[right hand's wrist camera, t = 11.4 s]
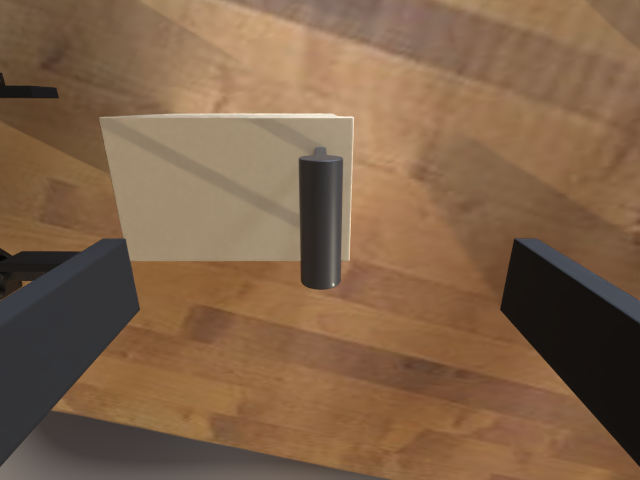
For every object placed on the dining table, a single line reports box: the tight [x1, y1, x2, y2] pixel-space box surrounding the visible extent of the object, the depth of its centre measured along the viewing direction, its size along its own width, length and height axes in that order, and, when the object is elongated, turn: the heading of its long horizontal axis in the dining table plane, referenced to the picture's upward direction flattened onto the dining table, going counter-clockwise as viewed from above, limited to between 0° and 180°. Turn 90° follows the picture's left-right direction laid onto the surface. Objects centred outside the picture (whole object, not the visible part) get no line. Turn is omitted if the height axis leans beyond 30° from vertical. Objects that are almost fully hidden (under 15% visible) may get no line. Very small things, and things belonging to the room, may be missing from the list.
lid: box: [99, 117, 354, 290], centre depth 21 cm, size 16×10×8 cm, turn 90°
